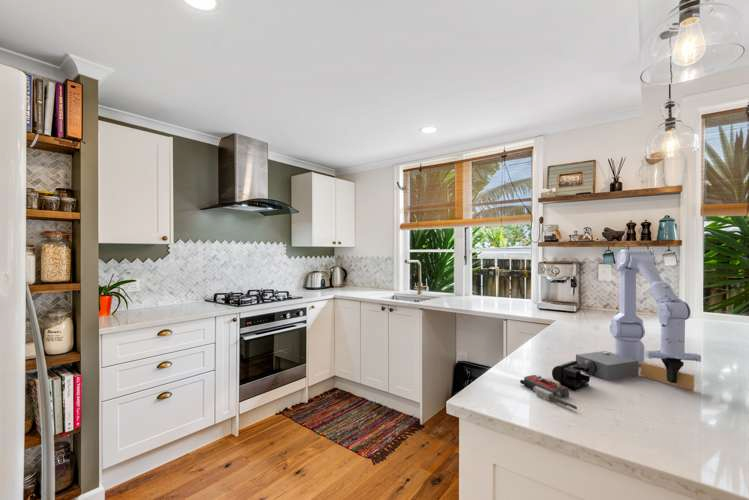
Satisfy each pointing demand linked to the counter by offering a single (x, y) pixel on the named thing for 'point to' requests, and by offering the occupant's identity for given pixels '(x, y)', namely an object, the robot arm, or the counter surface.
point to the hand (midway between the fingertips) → (671, 381)
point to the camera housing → (608, 365)
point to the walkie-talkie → (547, 388)
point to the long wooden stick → (661, 375)
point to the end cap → (571, 375)
